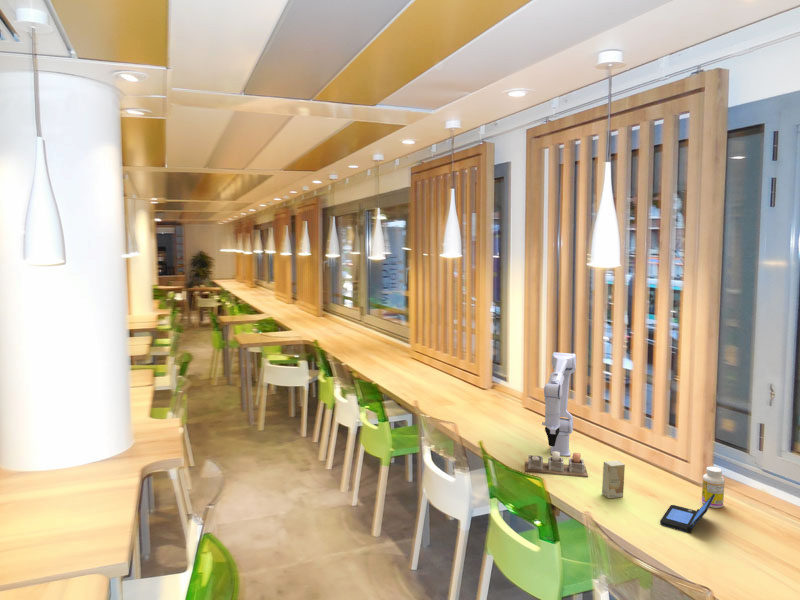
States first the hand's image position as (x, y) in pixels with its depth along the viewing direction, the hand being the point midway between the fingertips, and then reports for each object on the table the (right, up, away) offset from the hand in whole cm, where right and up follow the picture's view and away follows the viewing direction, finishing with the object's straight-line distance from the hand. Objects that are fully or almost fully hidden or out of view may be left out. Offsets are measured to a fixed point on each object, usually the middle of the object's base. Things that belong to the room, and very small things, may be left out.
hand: (551, 445), depth 226 cm
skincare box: (+16, -12, -23) cm, 31 cm away
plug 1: (-6, -9, +2) cm, 11 cm away
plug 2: (+2, -6, 0) cm, 6 cm away
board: (+2, -10, 0) cm, 10 cm away
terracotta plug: (+9, -6, -2) cm, 12 cm away
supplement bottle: (+48, -13, -30) cm, 58 cm away
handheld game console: (+33, -14, -42) cm, 56 cm away
